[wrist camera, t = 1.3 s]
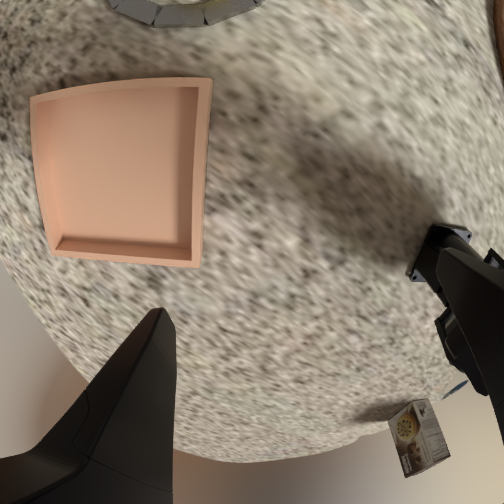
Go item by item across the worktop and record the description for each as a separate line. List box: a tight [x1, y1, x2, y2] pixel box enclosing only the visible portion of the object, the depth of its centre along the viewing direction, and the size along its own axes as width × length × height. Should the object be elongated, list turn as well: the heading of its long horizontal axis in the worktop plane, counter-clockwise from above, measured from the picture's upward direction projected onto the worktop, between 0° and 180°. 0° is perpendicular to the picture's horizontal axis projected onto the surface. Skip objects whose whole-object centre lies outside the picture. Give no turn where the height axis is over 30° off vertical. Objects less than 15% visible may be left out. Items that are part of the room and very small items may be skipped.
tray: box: [30, 77, 214, 268], centre depth 17 cm, size 13×13×2 cm
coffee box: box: [388, 399, 451, 478], centre depth 41 cm, size 9×6×16 cm
